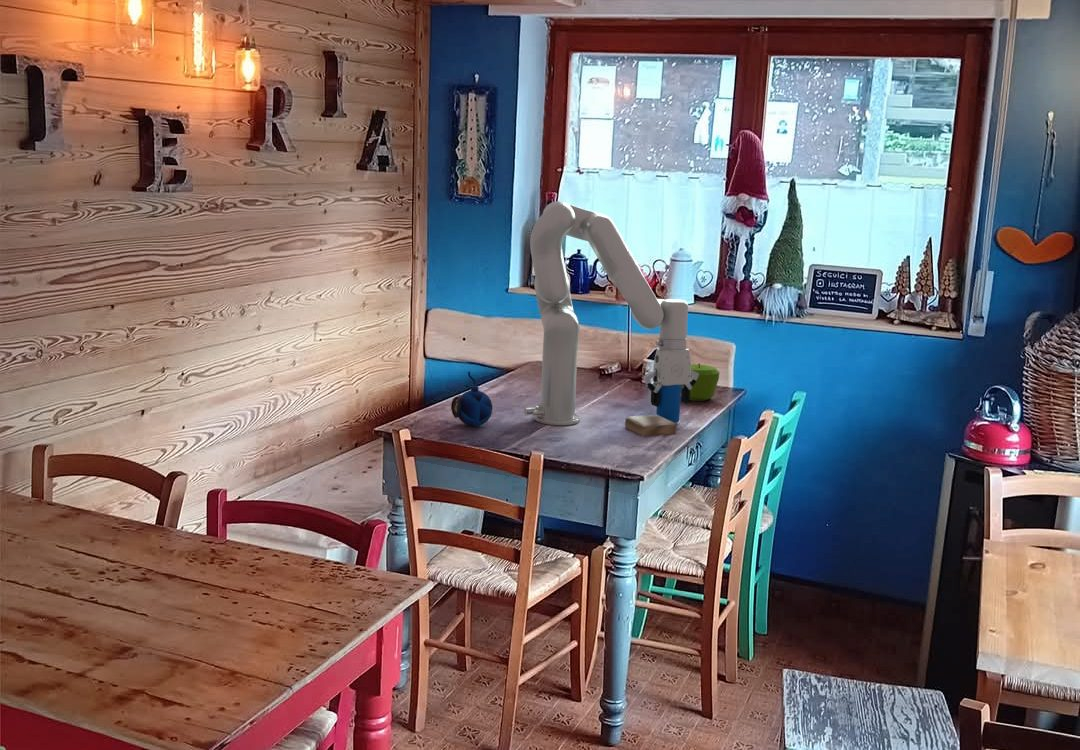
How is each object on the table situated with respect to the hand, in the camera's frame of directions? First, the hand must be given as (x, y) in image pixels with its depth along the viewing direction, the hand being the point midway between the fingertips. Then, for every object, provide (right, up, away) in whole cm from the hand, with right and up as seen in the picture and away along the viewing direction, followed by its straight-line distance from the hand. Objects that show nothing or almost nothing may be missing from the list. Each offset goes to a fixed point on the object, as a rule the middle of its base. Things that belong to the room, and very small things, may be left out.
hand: (670, 404), depth 305 cm
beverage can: (-1, -5, +1) cm, 6 cm away
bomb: (-55, -6, -10) cm, 56 cm away
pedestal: (-6, -7, -8) cm, 12 cm away
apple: (+12, +1, +33) cm, 35 cm away
